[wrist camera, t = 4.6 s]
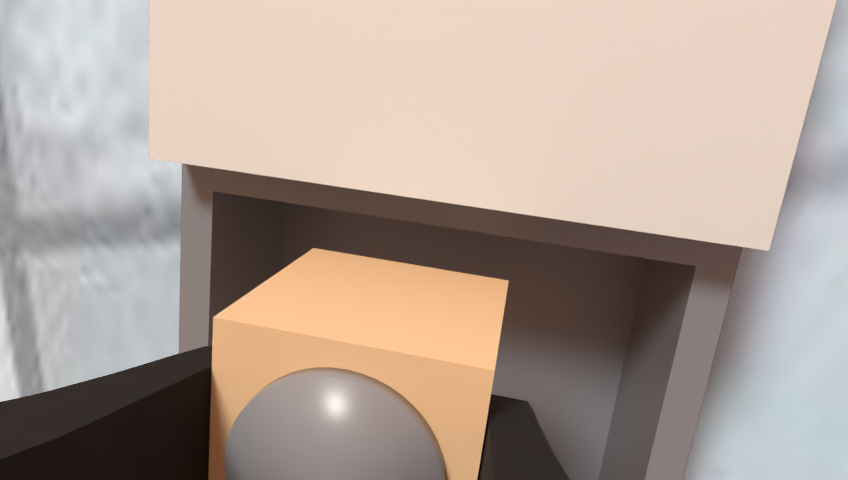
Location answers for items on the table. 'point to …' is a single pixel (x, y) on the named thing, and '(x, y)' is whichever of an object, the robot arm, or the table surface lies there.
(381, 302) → the orange cube
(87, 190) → the table surface
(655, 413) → the box
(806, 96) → the lid
